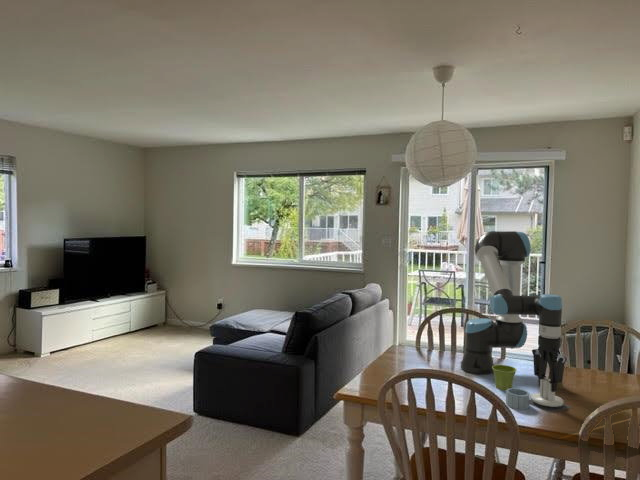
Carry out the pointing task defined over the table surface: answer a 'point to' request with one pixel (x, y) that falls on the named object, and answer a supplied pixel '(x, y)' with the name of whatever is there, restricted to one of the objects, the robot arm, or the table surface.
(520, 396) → the bowl
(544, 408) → the mat
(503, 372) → the plant pot
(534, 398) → the lid
